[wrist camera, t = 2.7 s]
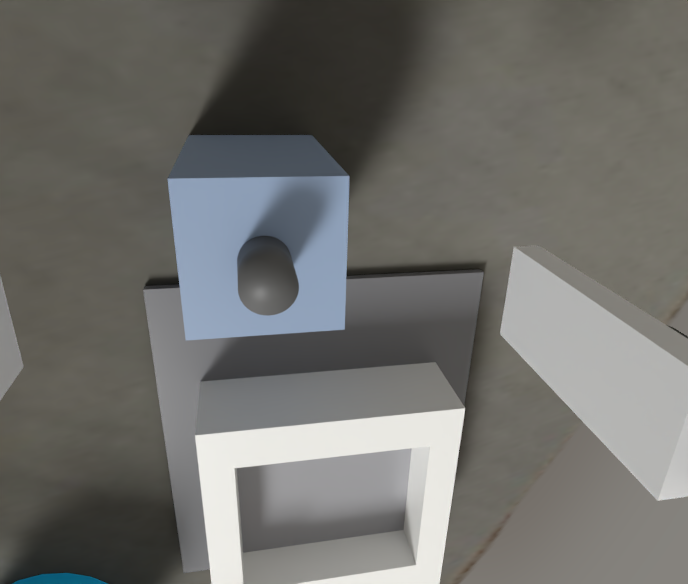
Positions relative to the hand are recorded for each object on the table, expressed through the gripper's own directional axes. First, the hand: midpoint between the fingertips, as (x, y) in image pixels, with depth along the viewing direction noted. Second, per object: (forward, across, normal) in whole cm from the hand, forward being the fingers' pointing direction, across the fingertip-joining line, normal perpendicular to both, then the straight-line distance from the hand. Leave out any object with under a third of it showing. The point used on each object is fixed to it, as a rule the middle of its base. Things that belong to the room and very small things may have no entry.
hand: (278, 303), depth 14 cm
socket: (+10, +3, -12) cm, 16 cm away
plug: (+10, 0, 0) cm, 10 cm away
